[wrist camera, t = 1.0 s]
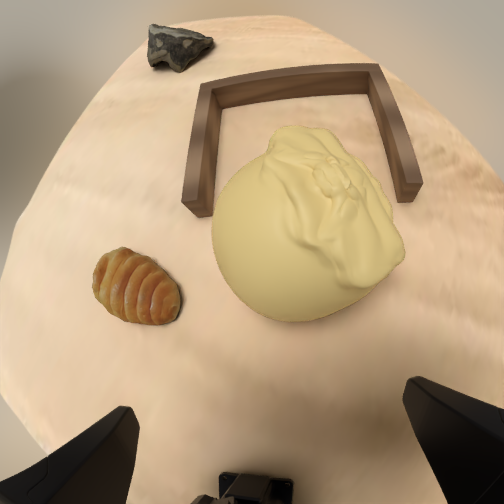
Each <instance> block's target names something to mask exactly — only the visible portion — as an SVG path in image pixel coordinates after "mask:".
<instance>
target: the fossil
mask: <svg viewBox="0 0 504 504" xmlns="http://www.w3.org/2000/svg"><path fill="white" fill-rule="evenodd" d="M212 42H213V38H212V37H205V36H204V35H202V34H201V33H198V32H194V31H191V30H187V29H183V28H177V29H176V28H170V27H165V26H158V25H156V24H151V25H150V26H149V41H148V53H147V57H148V62H149V64H150V66H151V67H155V66H156V65H157V64H158V63H159V62H161V61H166V62H168V63H169V65H170V68H172V69H174V70H175V71H176V72H179V73H180V72H182V71H183V70H184V68H185V67H186V65H187V64H188V62H189V61H190V60H192V59H194V58H196V57H197V56H198V55H199V53H200V52H201V51H202V50H203V49H204V48H206V47H210V46H211V45H212Z"/></svg>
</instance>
